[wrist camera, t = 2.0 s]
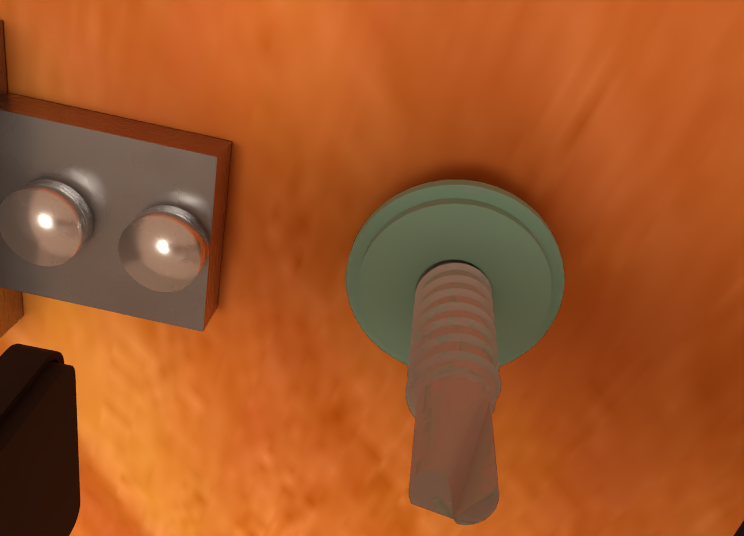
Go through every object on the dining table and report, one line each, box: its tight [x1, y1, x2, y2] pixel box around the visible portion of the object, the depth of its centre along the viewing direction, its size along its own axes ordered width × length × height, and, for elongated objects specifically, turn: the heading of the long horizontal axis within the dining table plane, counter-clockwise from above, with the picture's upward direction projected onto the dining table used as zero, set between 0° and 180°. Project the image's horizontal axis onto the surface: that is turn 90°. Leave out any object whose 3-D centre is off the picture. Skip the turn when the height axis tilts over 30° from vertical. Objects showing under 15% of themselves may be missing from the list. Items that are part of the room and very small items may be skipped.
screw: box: [346, 179, 565, 525], centre depth 14 cm, size 9×5×5 cm
